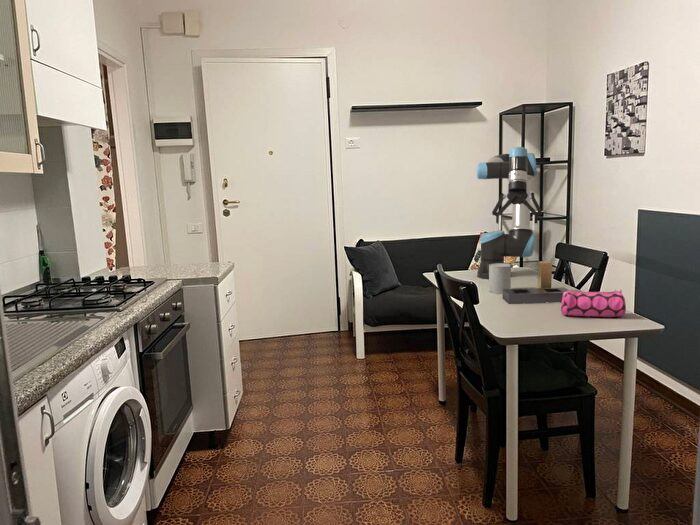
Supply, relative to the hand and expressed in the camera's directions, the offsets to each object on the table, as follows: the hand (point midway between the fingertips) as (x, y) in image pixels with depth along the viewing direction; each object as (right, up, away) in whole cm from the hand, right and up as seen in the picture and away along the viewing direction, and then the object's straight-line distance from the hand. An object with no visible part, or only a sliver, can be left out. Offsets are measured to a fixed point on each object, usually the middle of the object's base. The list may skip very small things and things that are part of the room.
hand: (516, 231), depth 225 cm
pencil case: (+19, -33, -28) cm, 47 cm away
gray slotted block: (+8, -29, -2) cm, 30 cm away
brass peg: (+15, -27, +10) cm, 33 cm away
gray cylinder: (-2, -27, +16) cm, 31 cm away
